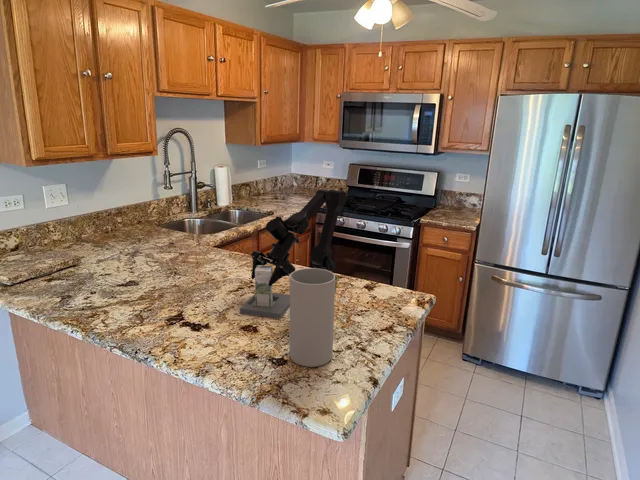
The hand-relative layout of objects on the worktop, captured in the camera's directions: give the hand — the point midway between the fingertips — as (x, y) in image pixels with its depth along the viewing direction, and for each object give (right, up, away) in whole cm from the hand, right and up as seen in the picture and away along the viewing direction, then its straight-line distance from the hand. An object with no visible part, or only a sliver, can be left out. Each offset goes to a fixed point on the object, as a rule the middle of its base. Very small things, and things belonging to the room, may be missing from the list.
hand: (260, 282), depth 153 cm
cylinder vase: (+19, -19, -28) cm, 39 cm away
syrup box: (+1, -9, +4) cm, 10 cm away
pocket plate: (+2, -9, +3) cm, 10 cm away
